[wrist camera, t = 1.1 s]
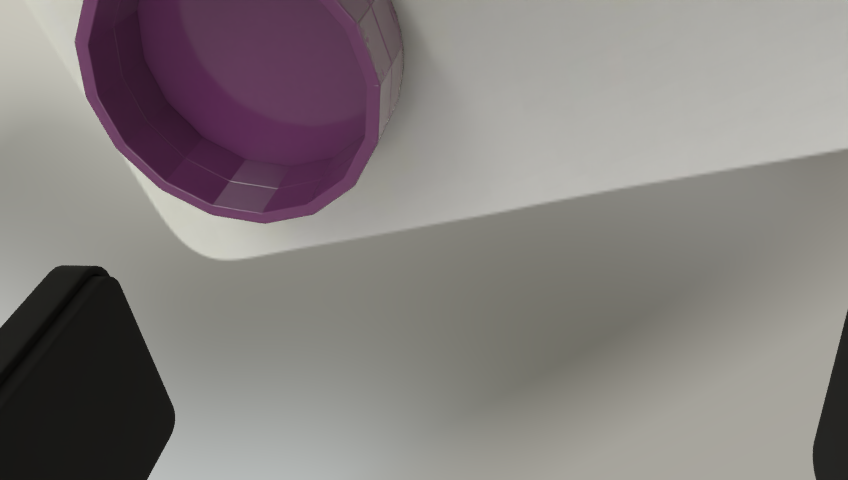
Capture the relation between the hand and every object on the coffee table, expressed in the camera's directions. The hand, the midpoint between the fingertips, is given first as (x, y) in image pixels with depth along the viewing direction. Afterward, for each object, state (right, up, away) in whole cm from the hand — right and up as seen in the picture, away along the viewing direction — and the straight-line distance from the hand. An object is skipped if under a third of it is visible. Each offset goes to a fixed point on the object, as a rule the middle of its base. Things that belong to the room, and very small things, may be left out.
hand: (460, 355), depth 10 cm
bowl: (-8, +11, +27) cm, 30 cm away
